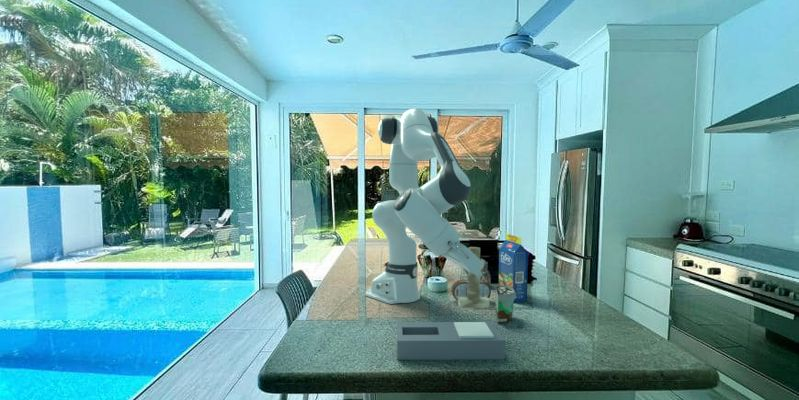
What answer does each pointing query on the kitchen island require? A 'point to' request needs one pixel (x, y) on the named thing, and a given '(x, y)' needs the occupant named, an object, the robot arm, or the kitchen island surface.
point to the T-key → (473, 290)
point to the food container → (504, 303)
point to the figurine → (485, 273)
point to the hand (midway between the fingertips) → (476, 273)
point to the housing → (449, 341)
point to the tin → (462, 289)
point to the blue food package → (514, 266)
